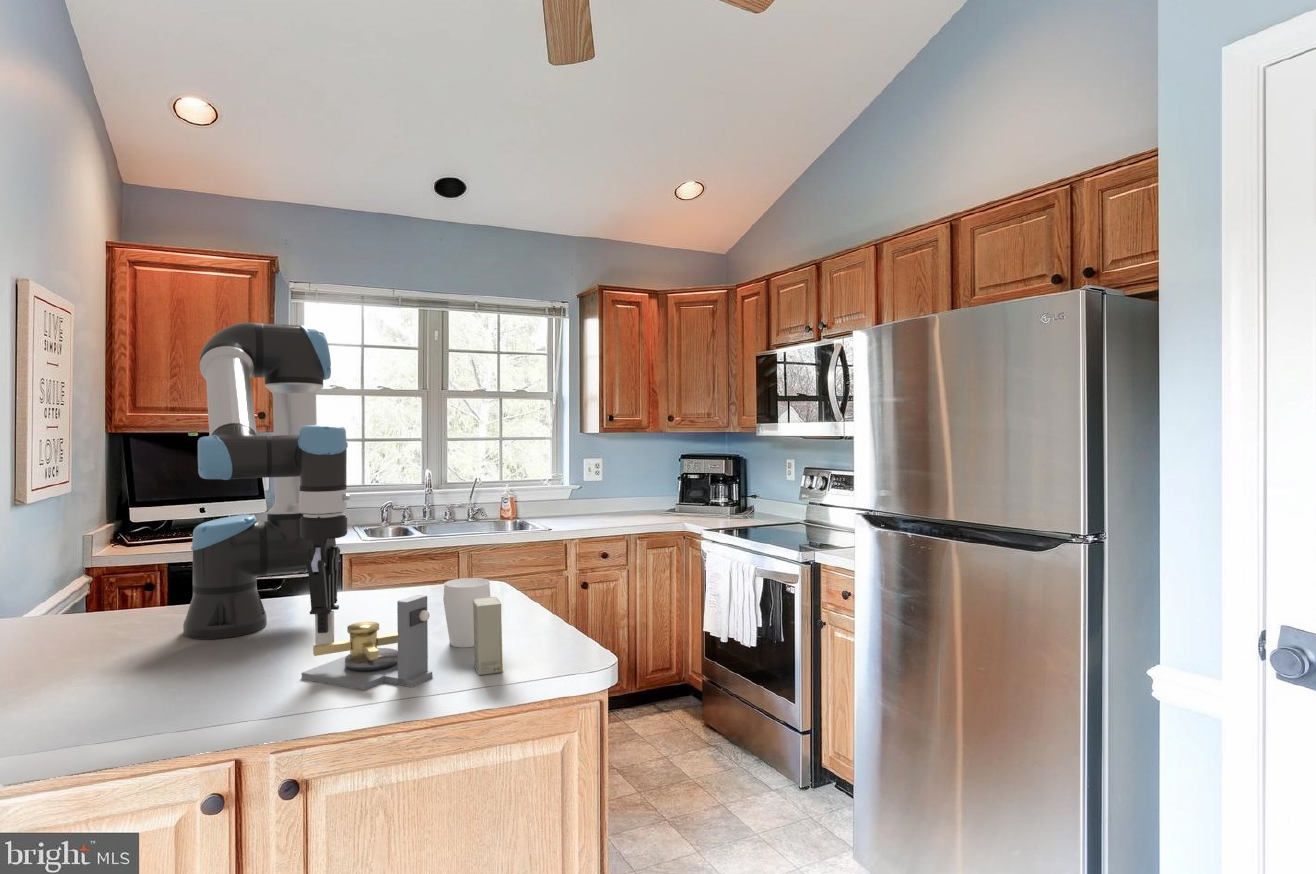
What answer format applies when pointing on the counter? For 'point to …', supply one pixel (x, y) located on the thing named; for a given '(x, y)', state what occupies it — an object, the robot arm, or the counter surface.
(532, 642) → the counter surface
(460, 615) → the cup
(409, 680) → the stand
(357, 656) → the capstan
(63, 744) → the counter surface
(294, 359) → the robot arm
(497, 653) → the skincare box
